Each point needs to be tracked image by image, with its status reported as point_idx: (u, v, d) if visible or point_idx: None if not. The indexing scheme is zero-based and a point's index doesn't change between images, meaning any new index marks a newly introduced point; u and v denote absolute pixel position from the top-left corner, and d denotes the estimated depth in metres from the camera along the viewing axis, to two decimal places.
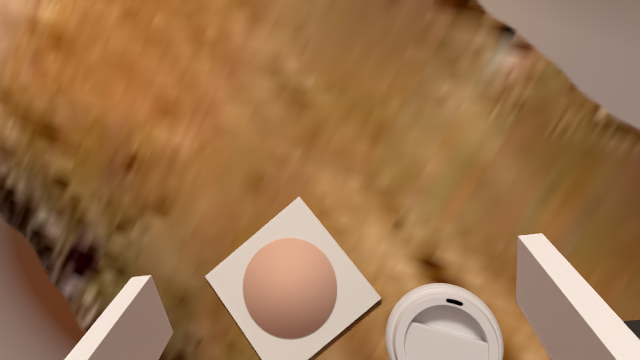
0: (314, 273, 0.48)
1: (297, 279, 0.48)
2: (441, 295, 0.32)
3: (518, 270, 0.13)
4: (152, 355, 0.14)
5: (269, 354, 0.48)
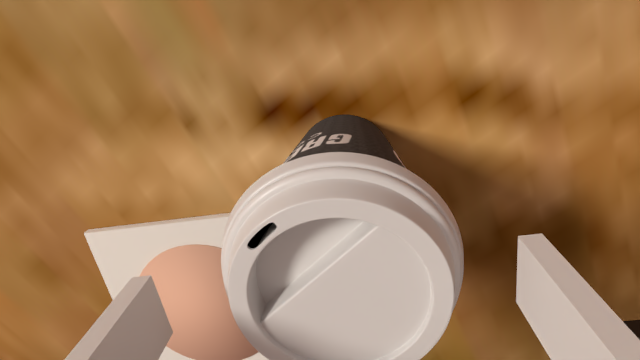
0: (203, 271, 0.31)
1: (202, 294, 0.32)
2: (236, 248, 0.13)
3: (518, 270, 0.13)
4: (152, 355, 0.14)
5: None
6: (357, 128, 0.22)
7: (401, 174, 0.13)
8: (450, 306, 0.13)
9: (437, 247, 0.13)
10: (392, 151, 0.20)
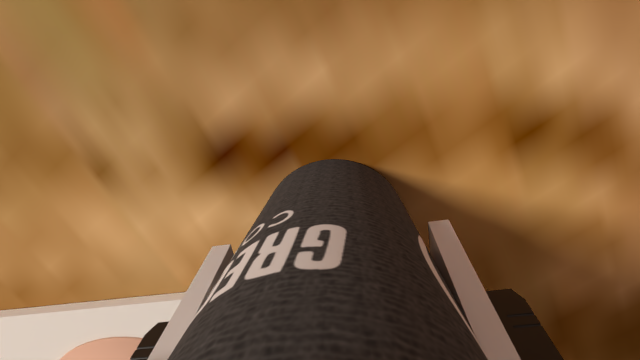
0: None
1: None
2: None
3: (431, 252, 0.15)
4: None
5: None
6: (355, 200, 0.13)
7: None
8: None
9: None
10: (420, 251, 0.11)
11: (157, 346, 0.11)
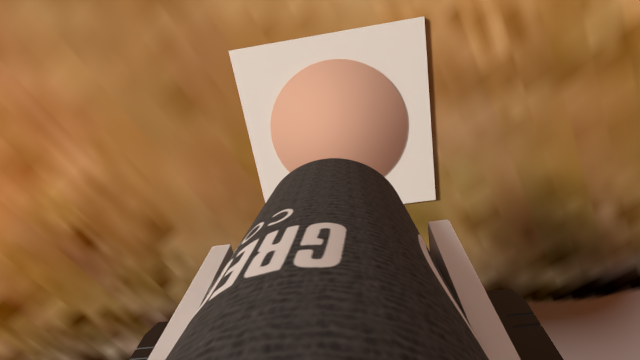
0: (340, 88, 0.33)
1: (335, 115, 0.34)
2: None
3: (431, 252, 0.15)
4: None
5: (399, 193, 0.37)
6: (355, 198, 0.13)
7: None
8: None
9: None
10: (420, 250, 0.11)
11: (157, 345, 0.11)
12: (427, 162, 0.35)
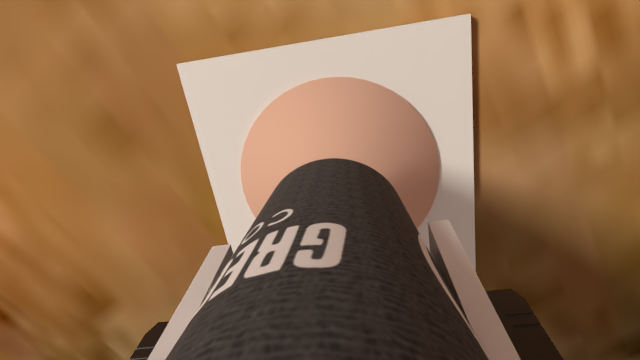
0: (342, 119, 0.22)
1: (335, 157, 0.23)
2: None
3: (431, 252, 0.15)
4: None
5: None
6: (355, 199, 0.13)
7: None
8: None
9: None
10: (420, 250, 0.11)
11: (157, 345, 0.11)
12: (466, 223, 0.25)
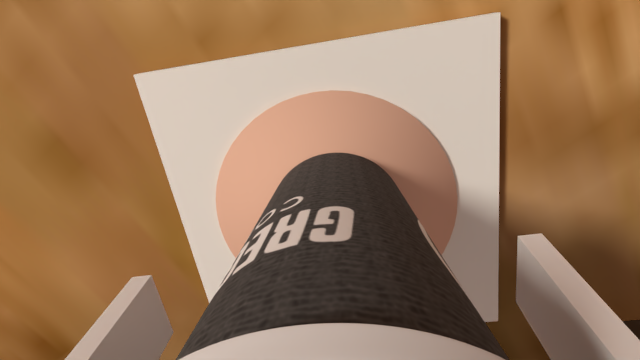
0: (339, 142, 0.18)
1: None
2: None
3: (518, 270, 0.13)
4: (153, 355, 0.14)
5: None
6: (359, 186, 0.14)
7: None
8: None
9: None
10: (420, 231, 0.12)
11: None
12: (488, 264, 0.20)
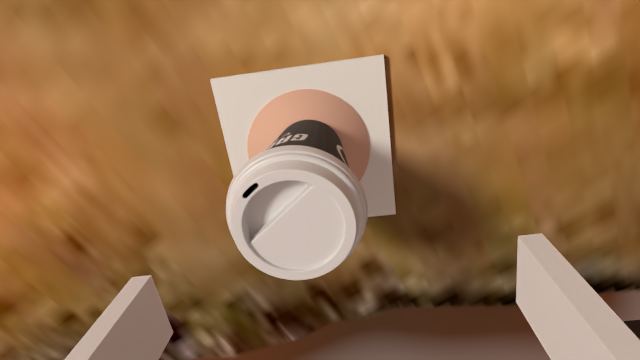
0: (310, 114, 0.37)
1: None
2: (236, 198, 0.24)
3: (518, 270, 0.13)
4: (153, 355, 0.14)
5: None
6: (314, 130, 0.32)
7: (328, 157, 0.24)
8: (354, 230, 0.24)
9: (345, 196, 0.23)
10: (335, 145, 0.31)
11: None
12: (388, 181, 0.39)
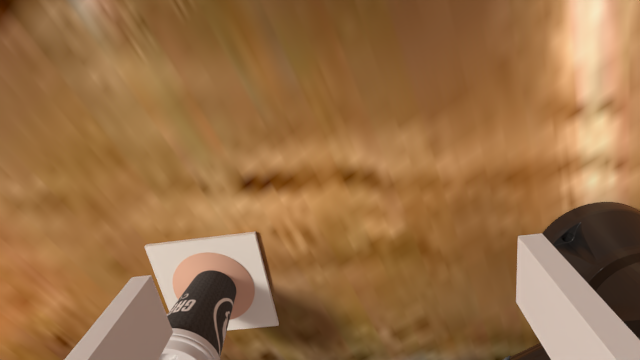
0: (211, 267, 0.55)
1: None
2: None
3: (518, 270, 0.13)
4: (152, 355, 0.14)
5: (255, 321, 0.59)
6: (205, 290, 0.51)
7: (191, 336, 0.43)
8: None
9: None
10: (215, 304, 0.49)
11: None
12: (269, 305, 0.58)
